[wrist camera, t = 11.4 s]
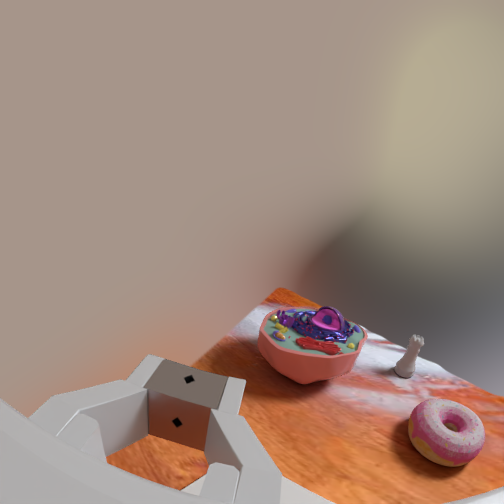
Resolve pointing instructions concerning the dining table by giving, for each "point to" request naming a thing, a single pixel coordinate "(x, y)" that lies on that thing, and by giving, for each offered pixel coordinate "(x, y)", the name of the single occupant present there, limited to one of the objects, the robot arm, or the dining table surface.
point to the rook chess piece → (409, 358)
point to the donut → (446, 432)
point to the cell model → (310, 343)
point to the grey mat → (291, 498)
